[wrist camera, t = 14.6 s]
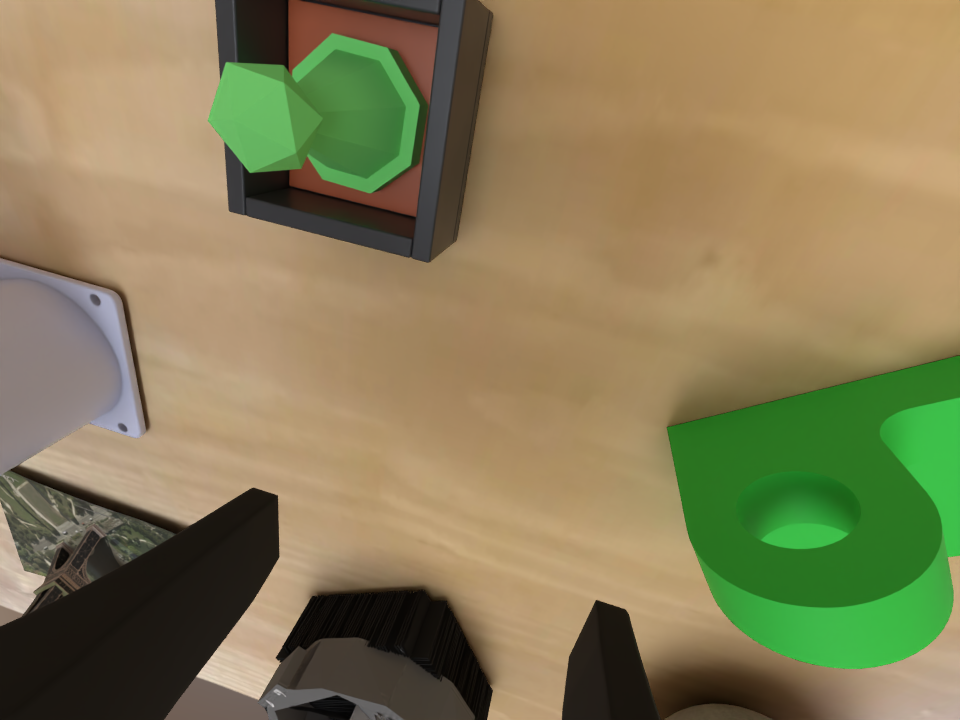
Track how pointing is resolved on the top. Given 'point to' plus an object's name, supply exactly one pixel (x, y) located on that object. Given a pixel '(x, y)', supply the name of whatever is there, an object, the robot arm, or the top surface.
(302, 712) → the cpu cooler
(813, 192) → the top surface
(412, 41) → the pad holder
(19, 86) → the top surface
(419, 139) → the game piece
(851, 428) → the mechanical part
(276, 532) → the robot arm
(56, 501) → the eiffel tower figurine
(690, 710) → the decorative ball
